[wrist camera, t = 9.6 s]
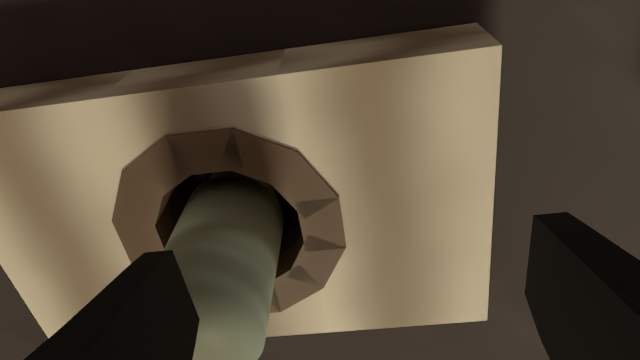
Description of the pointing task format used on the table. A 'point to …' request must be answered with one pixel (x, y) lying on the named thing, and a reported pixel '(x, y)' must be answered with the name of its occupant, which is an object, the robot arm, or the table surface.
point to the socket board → (269, 175)
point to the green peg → (230, 262)
